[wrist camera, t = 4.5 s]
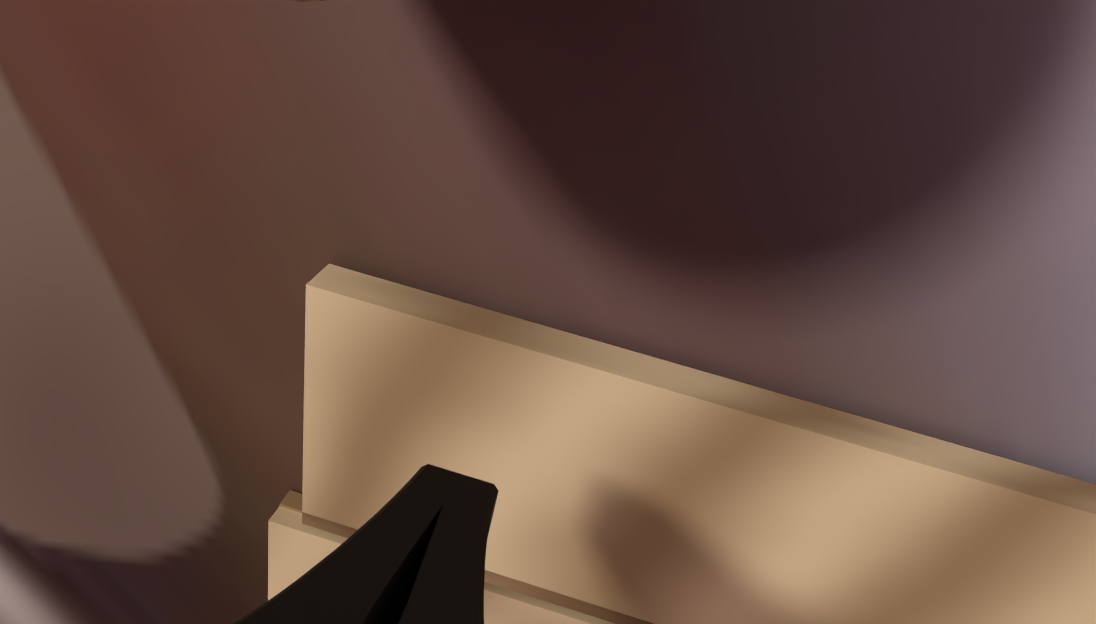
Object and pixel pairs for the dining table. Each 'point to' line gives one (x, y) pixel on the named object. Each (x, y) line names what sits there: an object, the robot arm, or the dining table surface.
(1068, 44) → the dining table surface
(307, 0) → the lidded jar
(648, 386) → the board
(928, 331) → the dining table surface
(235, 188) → the dining table surface
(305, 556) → the thin wooden board
